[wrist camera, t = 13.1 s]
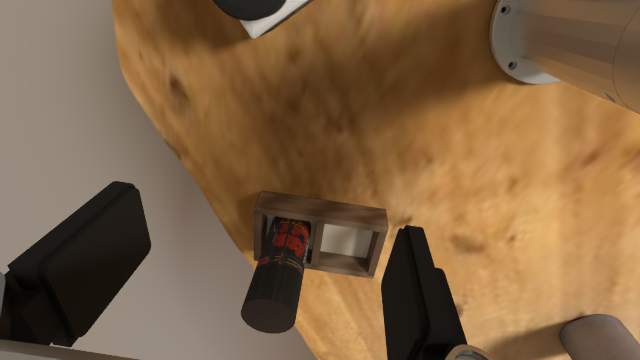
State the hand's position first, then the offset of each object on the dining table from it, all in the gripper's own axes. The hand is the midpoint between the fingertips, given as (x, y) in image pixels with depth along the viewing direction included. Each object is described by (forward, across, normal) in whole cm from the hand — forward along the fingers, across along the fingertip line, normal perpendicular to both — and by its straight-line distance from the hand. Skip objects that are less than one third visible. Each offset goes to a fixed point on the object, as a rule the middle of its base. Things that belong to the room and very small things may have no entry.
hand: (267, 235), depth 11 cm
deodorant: (+27, +2, +23) cm, 36 cm away
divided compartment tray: (+28, -2, +23) cm, 37 cm away
